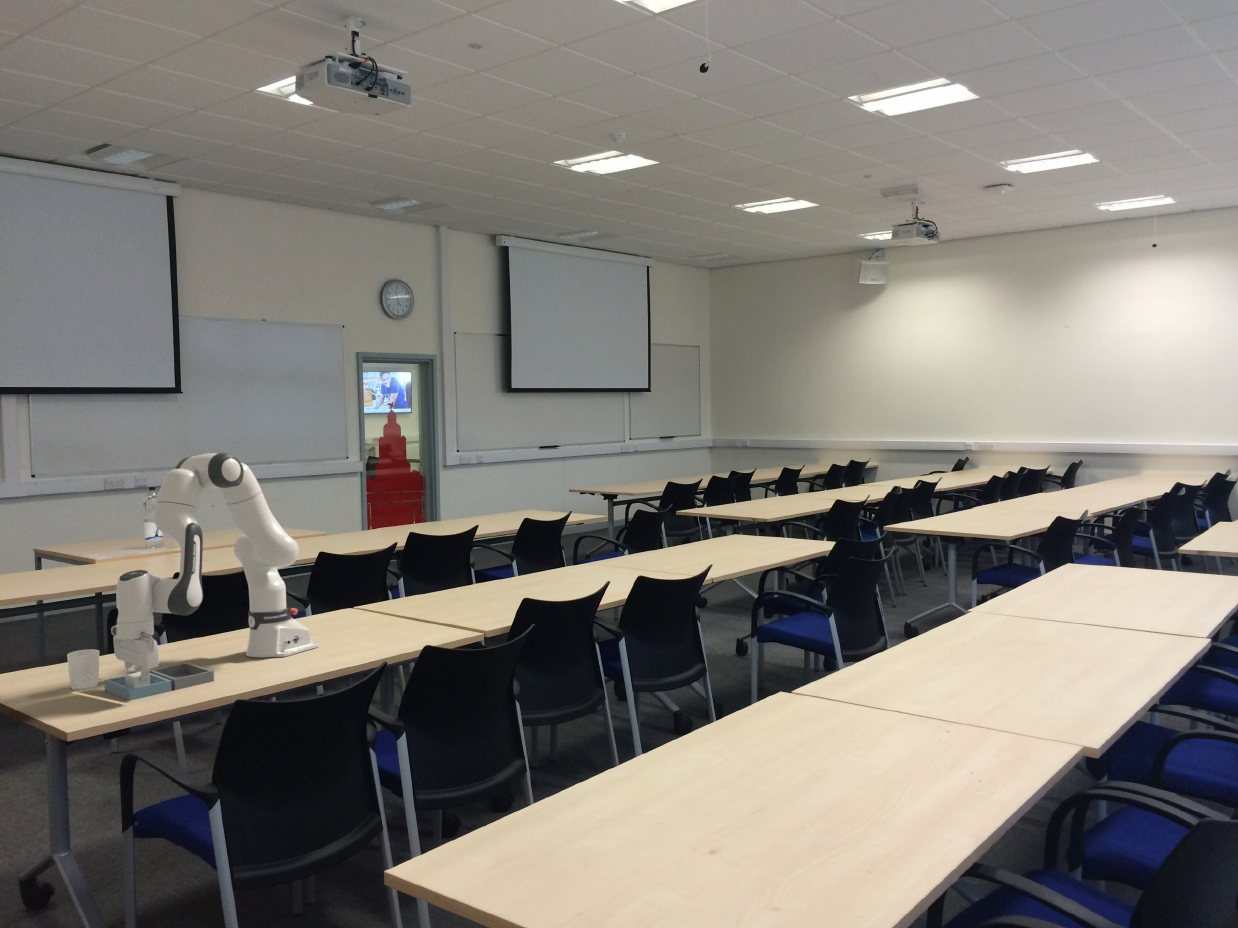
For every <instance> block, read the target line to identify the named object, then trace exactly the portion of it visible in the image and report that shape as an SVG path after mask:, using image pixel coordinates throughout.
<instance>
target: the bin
mask: <svg viewBox="0 0 1238 928" xmlns="http://www.w3.org/2000/svg"><path fill="white" fill-rule="evenodd" d="M172 690H173V689H171V680H168V679H166V678H163V677H160V676H157V675H155V674H152V673H150V685H145V686H141V687H136V688H132V689H131V688H128V687H126V686H125V675H122V676H116V677H112V678H108V679H107V678H106V679H104V691H106V692H108V693H110V694H113V695H115V696H117V697H120V698H123V699H125V700H126V701H127V700H128V701H129V702H131V701H134V700H139V699H143V698H147V697H153V696H155V695H157V696H158V695H161V694H165V693H169V692H172Z"/></svg>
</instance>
